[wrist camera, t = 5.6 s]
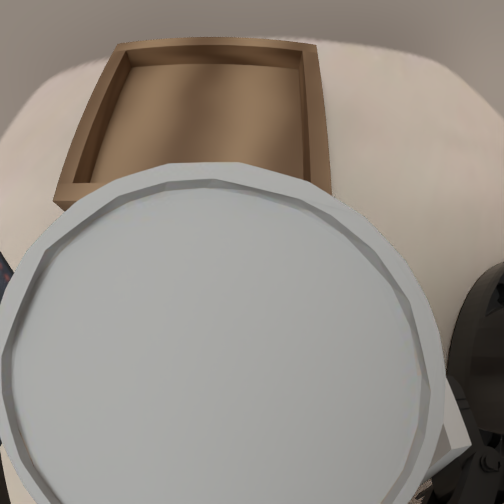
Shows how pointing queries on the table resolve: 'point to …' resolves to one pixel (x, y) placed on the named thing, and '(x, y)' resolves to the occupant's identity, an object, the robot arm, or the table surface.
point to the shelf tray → (201, 112)
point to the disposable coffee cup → (217, 348)
